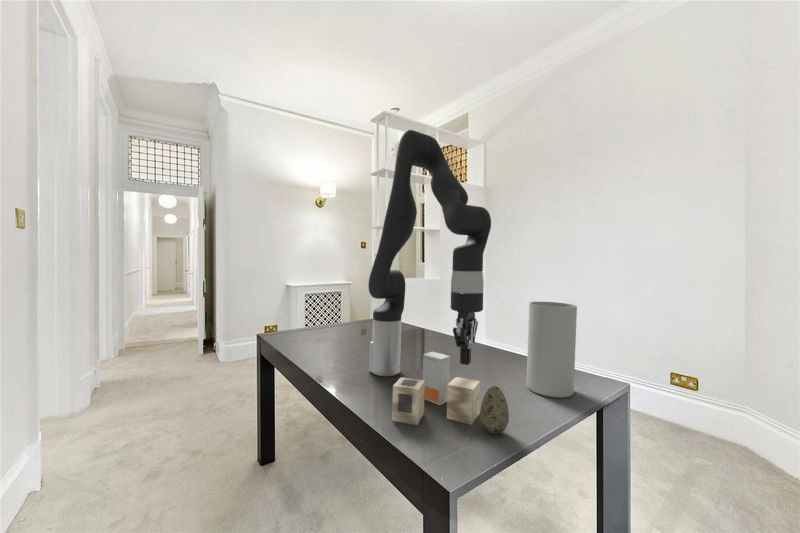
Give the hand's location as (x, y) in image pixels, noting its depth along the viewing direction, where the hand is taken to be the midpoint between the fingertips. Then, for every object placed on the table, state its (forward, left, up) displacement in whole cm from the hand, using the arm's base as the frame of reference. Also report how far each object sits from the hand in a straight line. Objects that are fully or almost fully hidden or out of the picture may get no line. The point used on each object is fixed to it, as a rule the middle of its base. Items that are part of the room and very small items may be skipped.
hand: (465, 363), depth 78 cm
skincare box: (-9, +5, -13) cm, 16 cm away
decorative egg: (+8, -4, -13) cm, 16 cm away
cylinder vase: (+17, +29, -13) cm, 36 cm away
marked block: (-11, -7, -13) cm, 18 cm away
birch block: (0, 0, -13) cm, 13 cm away
